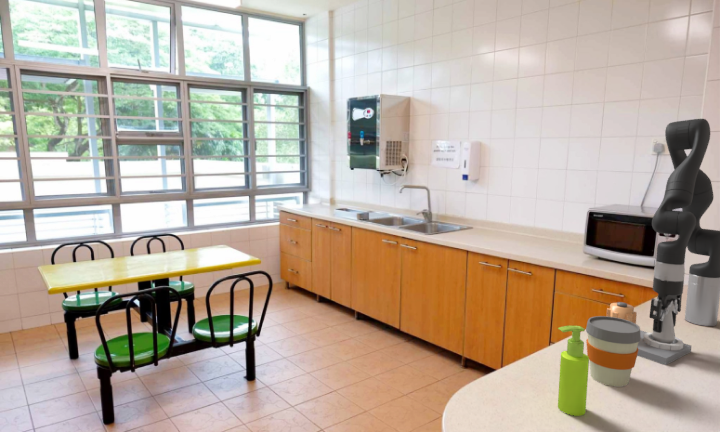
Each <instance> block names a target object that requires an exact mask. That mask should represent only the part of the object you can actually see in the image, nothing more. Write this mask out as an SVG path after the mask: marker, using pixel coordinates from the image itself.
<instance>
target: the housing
mask: <svg viewBox="0 0 720 432" xmlns="http://www.w3.org/2000/svg"><path fill="white" fill-rule="evenodd" d="M634 310H635V307H634V306H633V305H631V304H629V303H626V302H622V301H617V302H612V303H610V305H609V308H608V307H607V308H606V316H608V317H616V318H621V319H625V320H628V321H631V322H633V323H635V324H637V317H638V316H637V313H638V312H637V311H634ZM640 337H641V339H640V341H639V342H638V346H637V348H638V354H637V357H638V356H639V357H641V358H644V359H646V360H650V361H653V362H656V363H658V364H661V365H664V366H667V365H668V364H671V363H673V362H675V361H676V360H678V359H680V358H682V357H684V356H685V355H688V354H690V353H691V352H692V345H690V344H687V343H684V342H683V341H684V340H682V339H681V338H679V337H677V336H675V339H674V341H673V342H672V344H667V343H660V342H657V341H655V340H654V338H653V336H652V332H648V331H645V330H644V331H643V330H642V329H640Z"/></svg>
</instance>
